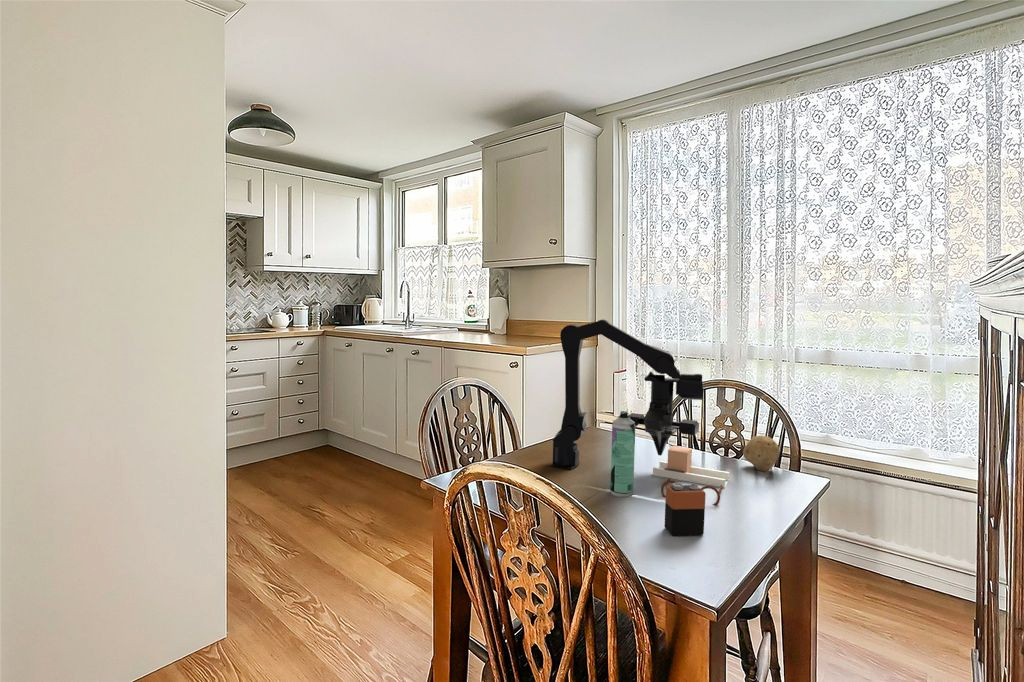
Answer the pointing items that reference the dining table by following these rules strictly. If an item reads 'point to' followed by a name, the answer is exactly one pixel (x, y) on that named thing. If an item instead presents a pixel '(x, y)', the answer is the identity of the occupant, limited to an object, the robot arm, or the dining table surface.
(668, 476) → the chute
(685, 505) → the battery
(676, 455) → the block
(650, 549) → the dining table surface
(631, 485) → the spray can
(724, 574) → the dining table surface
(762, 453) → the natural sponge
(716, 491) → the glasses
